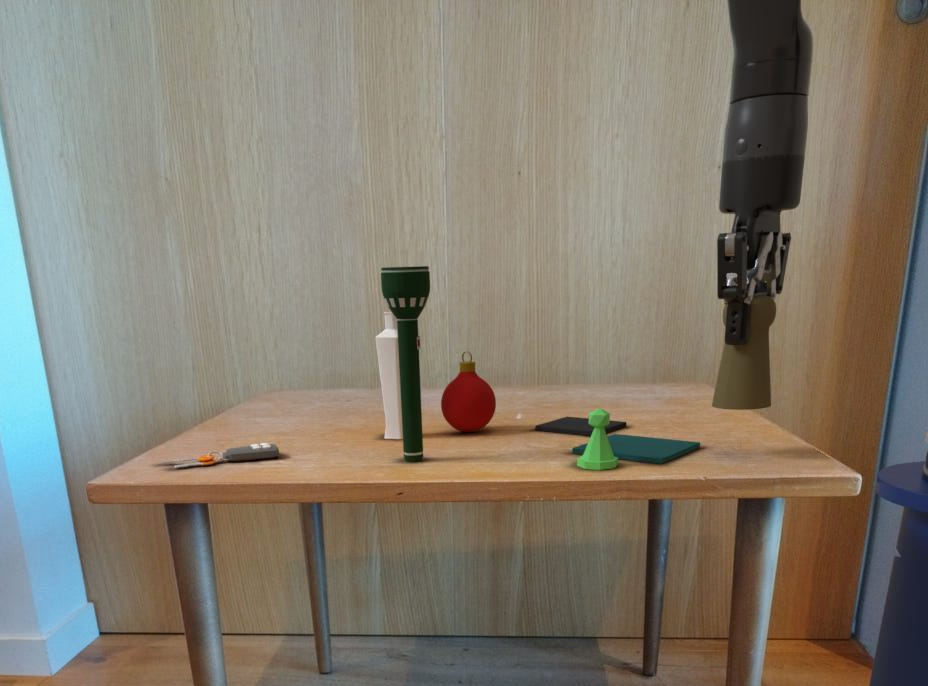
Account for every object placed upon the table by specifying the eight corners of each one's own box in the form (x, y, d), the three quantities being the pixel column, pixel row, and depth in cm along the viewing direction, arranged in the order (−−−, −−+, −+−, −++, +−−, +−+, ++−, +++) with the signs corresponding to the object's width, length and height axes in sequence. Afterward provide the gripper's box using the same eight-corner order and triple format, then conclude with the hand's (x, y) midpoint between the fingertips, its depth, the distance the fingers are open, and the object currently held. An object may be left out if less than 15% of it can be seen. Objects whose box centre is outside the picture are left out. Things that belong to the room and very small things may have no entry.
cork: (748, 399, 94) (757, 293, 90) (783, 406, 89) (795, 293, 84) (700, 404, 93) (707, 296, 88) (733, 411, 87) (743, 296, 83)
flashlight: (428, 465, 93) (420, 266, 85) (384, 464, 94) (372, 268, 86) (441, 456, 97) (435, 266, 89) (400, 454, 99) (390, 267, 90)
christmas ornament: (430, 433, 110) (427, 352, 106) (465, 425, 115) (464, 347, 111) (472, 439, 106) (471, 355, 102) (507, 430, 111) (506, 349, 107)
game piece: (579, 470, 88) (581, 411, 86) (575, 461, 92) (576, 405, 90) (620, 469, 88) (623, 410, 86) (614, 460, 92) (617, 404, 90)
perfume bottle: (422, 434, 110) (417, 310, 104) (407, 440, 106) (401, 312, 100) (391, 432, 112) (384, 311, 106) (375, 438, 108) (367, 313, 102)
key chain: (274, 453, 102) (273, 440, 101) (280, 458, 99) (279, 445, 98) (162, 464, 98) (160, 451, 97) (165, 470, 94) (163, 457, 94)
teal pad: (700, 447, 97) (700, 442, 97) (661, 464, 90) (662, 458, 90) (614, 438, 103) (614, 433, 103) (572, 453, 96) (572, 448, 96)
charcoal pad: (626, 426, 111) (626, 421, 110) (596, 436, 105) (596, 431, 105) (566, 420, 116) (567, 416, 115) (534, 430, 110) (535, 425, 110)
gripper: (776, 145, 74) (757, 349, 81) (826, 156, 84) (805, 337, 91) (695, 156, 79) (683, 348, 85) (751, 165, 89) (737, 336, 95)
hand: (746, 341), depth 88 cm, fingers closed on cork, 5 cm apart
